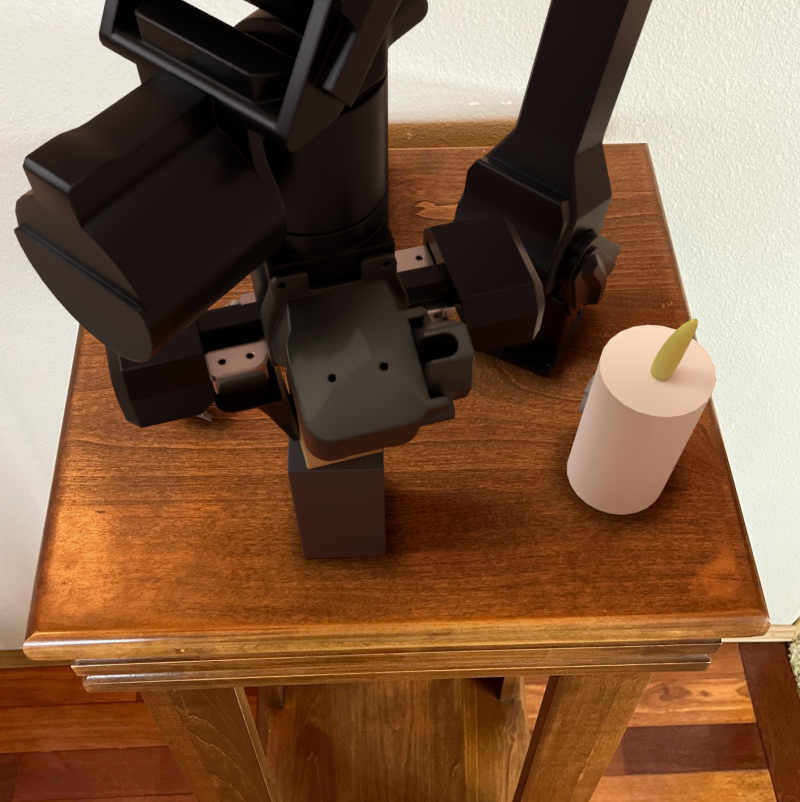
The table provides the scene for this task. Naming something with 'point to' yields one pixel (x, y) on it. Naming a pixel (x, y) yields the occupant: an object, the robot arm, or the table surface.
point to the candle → (639, 416)
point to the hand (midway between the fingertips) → (335, 424)
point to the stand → (338, 505)
